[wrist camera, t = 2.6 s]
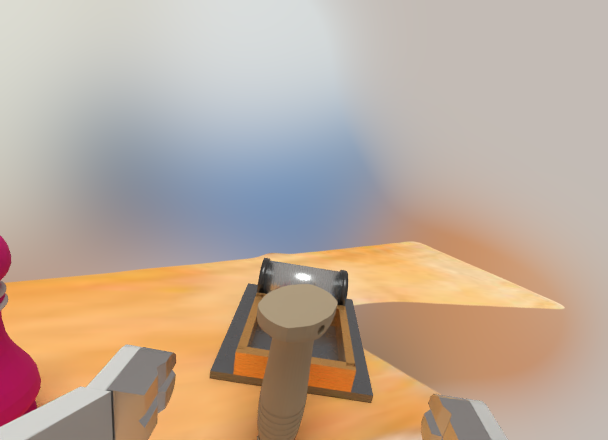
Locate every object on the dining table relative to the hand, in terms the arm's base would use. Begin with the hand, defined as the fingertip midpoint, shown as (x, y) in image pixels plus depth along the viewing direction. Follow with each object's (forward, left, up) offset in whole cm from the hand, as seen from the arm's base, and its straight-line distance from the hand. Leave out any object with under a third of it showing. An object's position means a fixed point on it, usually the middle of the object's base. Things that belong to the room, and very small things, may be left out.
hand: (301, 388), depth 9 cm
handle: (0, -12, -20) cm, 23 cm away
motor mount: (-1, -28, -20) cm, 34 cm away
